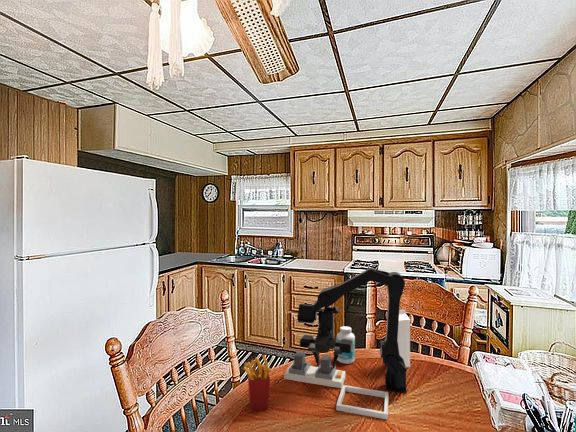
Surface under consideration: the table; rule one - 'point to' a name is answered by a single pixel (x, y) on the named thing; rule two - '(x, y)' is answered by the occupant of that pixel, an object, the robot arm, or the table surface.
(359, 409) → the white square frame
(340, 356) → the pill bottle
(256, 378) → the french fries
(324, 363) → the plug
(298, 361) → the plug
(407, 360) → the milk
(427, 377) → the table surface
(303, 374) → the power strip
